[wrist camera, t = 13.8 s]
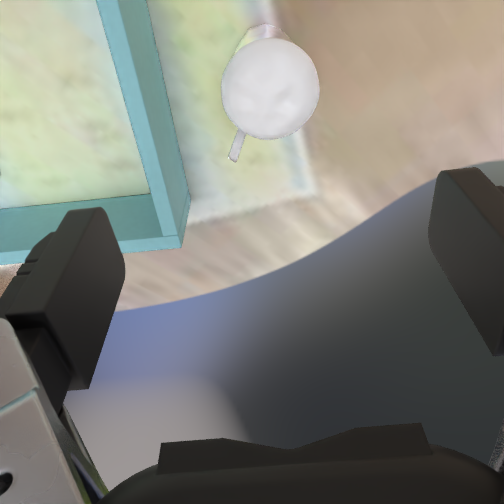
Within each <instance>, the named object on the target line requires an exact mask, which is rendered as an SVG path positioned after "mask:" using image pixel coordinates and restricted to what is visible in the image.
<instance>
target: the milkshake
mask: <svg viewBox="0 0 504 504" xmlns="http://www.w3.org/2000/svg"><path fill="white" fill-rule="evenodd" d="M221 94H222V102H223V107H224V110H225V112H226V114H227V116H228V117H229V119H230V120H231V121H232V122H233V123H234V124H235V125H236V126H237V127H238V131H237V133H236V136H235V139H234V142H233V144H232V147H231V150H230V153H229V155H228V158H229V159H231V160H232V161H234V162H236V161H237V159H238V156H239V153H240V150H241V148H242V145H243V142H244V139H245V136H246V134H248V135H250V136H253V137H255V138H259V139H265V140H271V139H278V138H282V137H285V136H288V135H290V134H292V133H294V132H296V131H297V130H298V129H299V128H300V127H301V126H303V125H304V124H305V122H306V121H307V120H308V119H309V118H310V117H311V115H312V114H313V112H314V110H315V108H316V106H317V103H318V100H319V94H320V86H319V80H318V75H317V71H316V68H315V66H314V64H313V62H312V60H311V58H310V57H309V56H308V55H307V54H306V53H305V52H304V51H303V50H302V49H301V48H300V47H299V46H297V45H296V44H295V43H294V42H293V41H292V40H291V39H290V38H289V37H288V36H287V35H286V34H285V33H284V31H283V30H282V29H279V28H277V27H274V26H271V25H269V24H266V23H264V24H261V25H259V26H256V27H253V28H250V29H248V31H247V32H246V34H245V35H244V37H243V38H242V40H241V42H240V43H239V45H238V47H237V49H236V51H235V54H234V55H233V57H232V58H231V60H230V61H229V63H228V65H227V67H226V68H225V71H224V73H223V76H222V82H221Z"/></svg>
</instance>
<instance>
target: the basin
mask: <svg viewBox="0 0 504 504" xmlns="http://www.w3.org/2000/svg"><path fill="white" fill-rule="evenodd" d="M96 2H97V5H98V9H99V12H100V16H101V19H102V23H103V26H104V30H105V34H106V37H107V41H108V44H109V48H110V51H111V55H112V58H113V62H114V65H115V69H116V72H117V76H118V79H119V83H120V86H121V90H122V93H123V97H124V100H125V104H126V107H127V111H128V114H129V118H130V121H131V125H132V128H133V132H134V136H135V139H136V143H137V146H138V150H139V153H140V157H141V160H142V164H143V167H144V171H145V174H146V178H147V181H148V185H149V188H150V192H151V194H145V195H135V196H125V197H115V198H106V199H96V200H86V201H76V202H66V203H57V204H47V205H37V206H27V207H18V208H8V209H0V265H5V264H15V263H25V261H24V260H25V259H26V257H27V256H28V254H29V253H30V251H31V250H32V248H33V247H34V245H36V244H37V243H38V242H39V241H40V240H42V239H43V238H44V237H45V236H47V235H48V234H49V233H50V232H55V231H56V230H57V228H58V226H59V225H60V223H61V221H62V220H63V218H64V216H65V215H66V213H67V212H68V211H69V210H74V209H83V208H92V207H102V208H103V209H104V210H105V211H106V213H107V215H108V218H109V221H110V223H111V226H112V229H113V231H114V234H115V237H116V239H117V242H118V245H119V247H120V250H121V253H131V252H142V251H153V250H163V249H174V248H181V247H182V242H183V237H184V232H185V227H186V222H187V218H188V213H189V208H190V203H191V199H190V195H189V191H188V187H187V182H186V178H185V173H184V169H183V164H182V160H181V155H180V151H179V146H178V142H177V137H176V133H175V128H174V124H173V119H172V115H171V110H170V106H169V101H168V97H167V93H166V88H165V84H164V79H163V75H162V70H161V66H160V61H159V57H158V52H157V48H156V43H155V39H154V34H153V30H152V25H151V21H150V16H149V12H148V7H147V3H146V0H96Z"/></svg>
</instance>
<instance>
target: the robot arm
mask: <svg viewBox="0 0 504 504" xmlns="http://www.w3.org/2000/svg"><path fill="white" fill-rule="evenodd" d="M428 238H429V244H430V247H431V250H432V252H433V254H434V256H435V257H436V259H437V261H438V262H439V264H440V266H441V267H442V269H443V271H444V273H445V274H446V276H447V278H448V280H449V281H450V283H451V285H452V286H453V288H454V290H455V292H456V293H457V295H458V297H459V298H460V300H461V302H462V303H463V305H464V307H465V309H466V310H467V312H468V314H469V316H470V317H471V319H472V321H473V322H474V324H475V326H476V328H477V329H478V331H479V333H480V334H481V336H482V337H483V340H484V341H485V343H486V345H487V346H488V348H489V350H490V351H491V353H492V355H493V356H501V355H504V187H503V186H495V185H494V184H493V183H492V182H491V181H490V180H489V179H488V178H487V177H486V176H485V175H484V174H483V173H482V171H481V170H480V169H478V168H476V167H472V168H463V169H453V170H444V171H441V172H440V173H439V174H438V177H437V180H436V185H435V191H434V197H433V203H432V209H431V214H430V221H429V227H428ZM24 261H25V263H24V264H22V265H21V267H20V268H19V270H18V271H17V276H14V277H13V279H12V281H11V282H10V284H9V285H8V287H7V288H6V290H5V291H4V293H3V294H2V296H1V298H0V504H504V420H503V423H502V427H501V430H500V434H499V437H498V440H497V443H496V446H495V449H494V452H493V455H492V457H491V460H490V463H489V465H486V464H484V463H482V462H480V461H478V460H476V459H474V458H472V457H470V456H467V455H465V454H462V453H459V452H457V451H455V450H452V449H448V448H445V447H441V446H438V445H433V444H428V441H427V438H426V435H425V433H424V430H423V427H422V424H421V423H412V424H399V425H386V426H374V427H361V428H354V429H351V430H348V431H345V432H343V433H339V434H337V435H334V436H331V437H328V438H325V439H322V440H319V441H316V442H313V443H311V444H308V445H305V446H302V447H299V448H295V449H280V448H275V447H270V446H264V445H259V444H253V443H247V442H242V441H237V440H231V439H225V438H220V439H206V440H193V441H180V442H167V443H161V448H160V455H159V460H158V464H157V465H154V466H151V467H149V468H147V469H145V470H143V471H140V472H138V473H136V474H134V475H133V476H131V477H130V478H128V479H126V480H125V481H123V482H122V483H120V484H119V485H118V486H116V487H115V488H114V489H112V490H111V491H110V492H109V491H108V489H107V487H106V486H105V484H104V482H103V481H102V479H101V477H100V475H99V473H98V471H97V470H96V468H95V465H94V463H93V461H92V460H91V457H90V455H89V453H88V451H87V449H86V447H85V446H84V443H83V441H82V439H81V437H80V435H79V433H78V431H77V429H76V427H75V425H74V423H73V421H72V419H71V417H70V415H69V413H68V411H67V409H66V407H65V406H64V404H63V401H64V399H65V396H66V393H67V391H70V390H82V389H89V386H90V383H91V380H92V377H93V374H94V371H95V368H96V365H97V362H98V358H99V356H100V353H101V350H102V347H103V344H104V341H105V338H106V335H107V332H108V329H109V326H110V323H111V320H112V316H113V314H114V311H115V307H116V304H117V301H118V298H119V295H120V292H121V289H122V286H123V283H124V280H125V263H124V258H123V255H122V253H121V250H120V247H119V245H118V242H117V239H116V237H115V234H114V231H113V229H112V226H111V223H110V221H109V218H108V215H107V213H106V211H105V210H104V209H103V208H102V207H92V208H83V209H74V210H69V211H68V212H67V213H66V215H65V216H64V218H63V220H62V221H61V223H60V225H59V226H58V228H57V230H56V231H55V232H50V233H49V234H48V235H47V236H45V237H44V238H43V239H42V240H40V241H39V242H38V243H37V244H36V245H34V247H33V248H32V250H31V251H30V253H29V254H28V256H27V257H26V259H25V260H24Z"/></svg>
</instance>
